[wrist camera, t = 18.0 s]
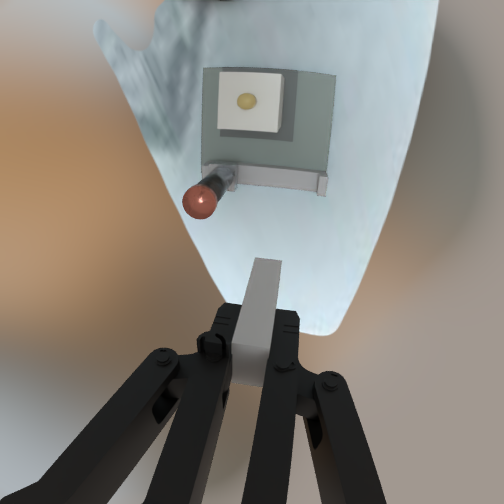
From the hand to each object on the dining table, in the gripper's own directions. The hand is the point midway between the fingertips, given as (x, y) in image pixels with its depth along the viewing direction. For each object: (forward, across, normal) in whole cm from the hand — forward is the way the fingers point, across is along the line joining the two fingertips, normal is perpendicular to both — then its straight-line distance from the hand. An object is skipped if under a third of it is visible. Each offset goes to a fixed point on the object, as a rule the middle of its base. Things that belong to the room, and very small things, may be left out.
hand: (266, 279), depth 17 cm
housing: (+23, -4, +9) cm, 25 cm away
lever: (+21, -7, 0) cm, 22 cm away
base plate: (+24, -3, +6) cm, 25 cm away
